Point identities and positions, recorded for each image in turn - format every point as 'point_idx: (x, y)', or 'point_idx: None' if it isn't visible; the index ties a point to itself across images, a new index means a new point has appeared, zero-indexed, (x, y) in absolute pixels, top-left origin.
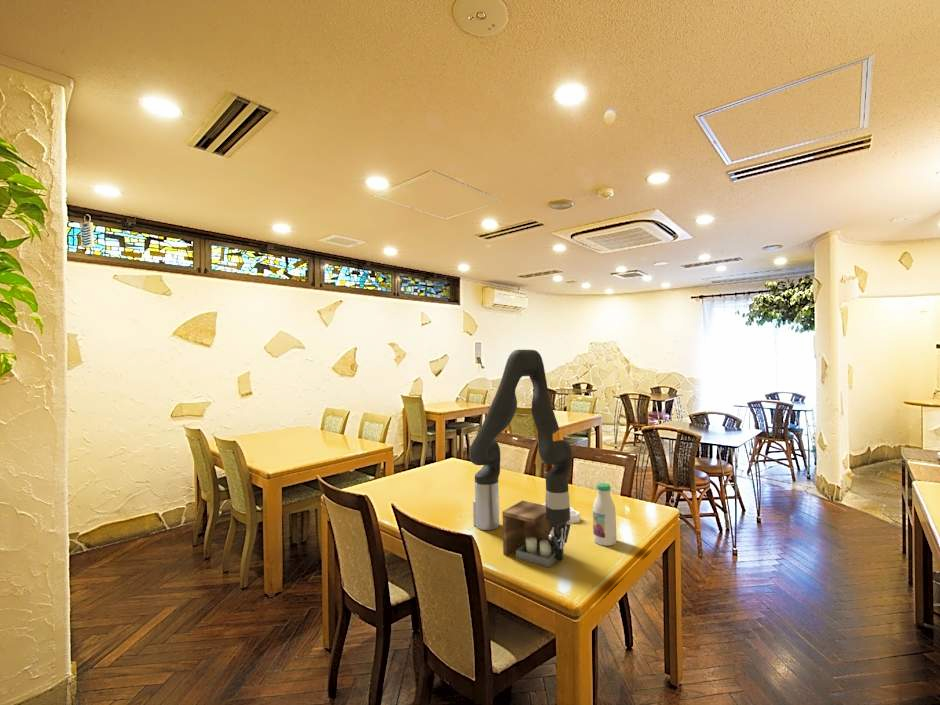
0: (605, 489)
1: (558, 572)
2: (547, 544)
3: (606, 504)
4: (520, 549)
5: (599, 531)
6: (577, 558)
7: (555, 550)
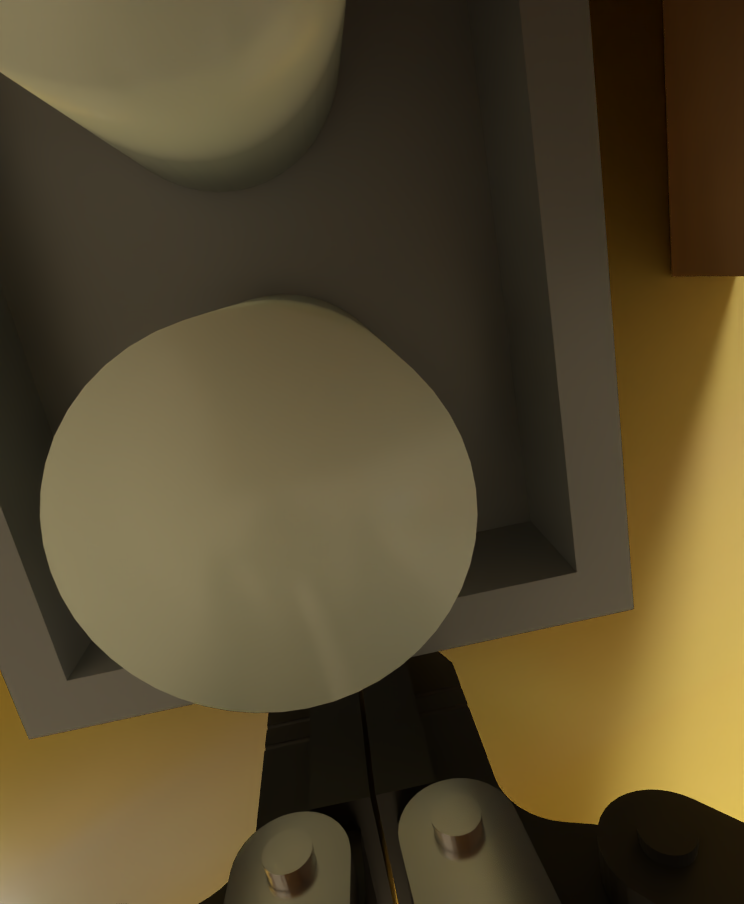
0: None
1: (96, 798)
2: (177, 687)
3: None
4: None
5: None
6: (668, 725)
7: (257, 819)
